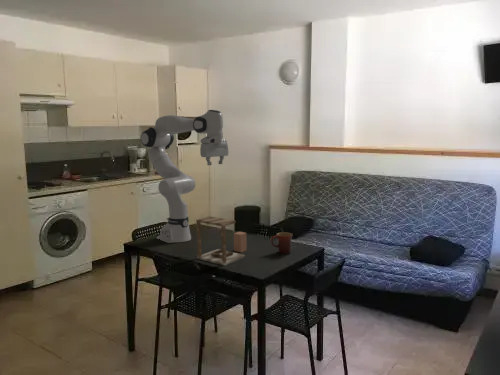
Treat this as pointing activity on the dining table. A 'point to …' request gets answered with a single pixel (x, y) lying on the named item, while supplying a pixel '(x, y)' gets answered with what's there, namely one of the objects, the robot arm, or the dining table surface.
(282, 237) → the mug
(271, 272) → the dining table surface
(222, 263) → the dock
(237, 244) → the block
